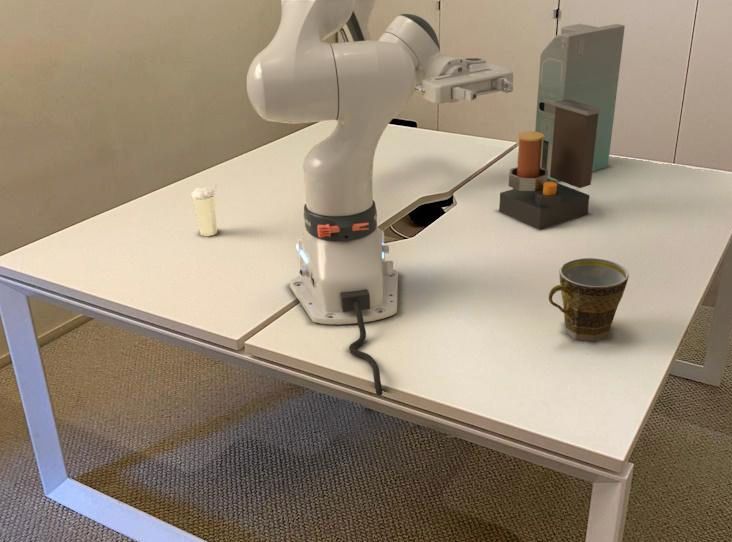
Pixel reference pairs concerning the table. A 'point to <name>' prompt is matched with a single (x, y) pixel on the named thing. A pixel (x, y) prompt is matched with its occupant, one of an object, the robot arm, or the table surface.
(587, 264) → the ceramic cup
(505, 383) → the table surface
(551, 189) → the power button
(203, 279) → the table surface
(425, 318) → the table surface
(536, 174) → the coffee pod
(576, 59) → the device
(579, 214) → the base
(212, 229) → the milkshake
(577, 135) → the coffee maker
